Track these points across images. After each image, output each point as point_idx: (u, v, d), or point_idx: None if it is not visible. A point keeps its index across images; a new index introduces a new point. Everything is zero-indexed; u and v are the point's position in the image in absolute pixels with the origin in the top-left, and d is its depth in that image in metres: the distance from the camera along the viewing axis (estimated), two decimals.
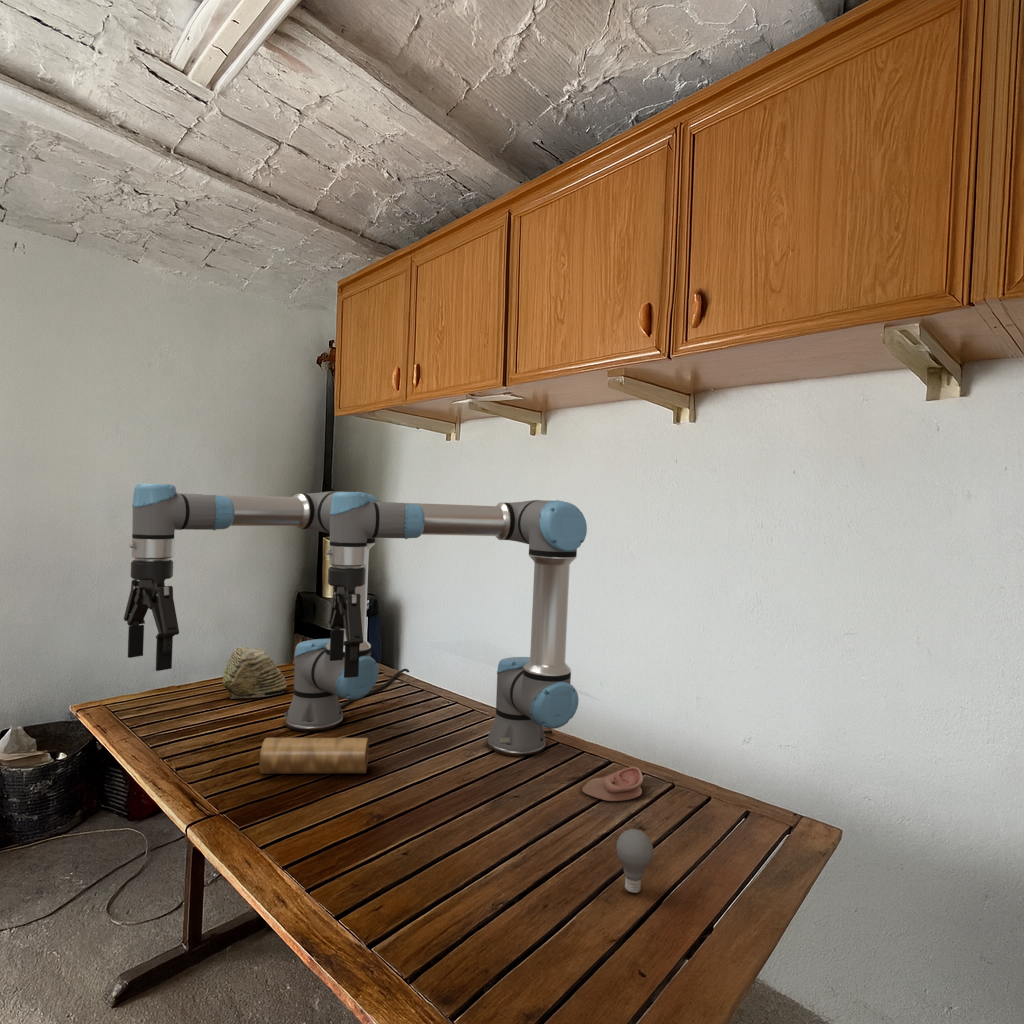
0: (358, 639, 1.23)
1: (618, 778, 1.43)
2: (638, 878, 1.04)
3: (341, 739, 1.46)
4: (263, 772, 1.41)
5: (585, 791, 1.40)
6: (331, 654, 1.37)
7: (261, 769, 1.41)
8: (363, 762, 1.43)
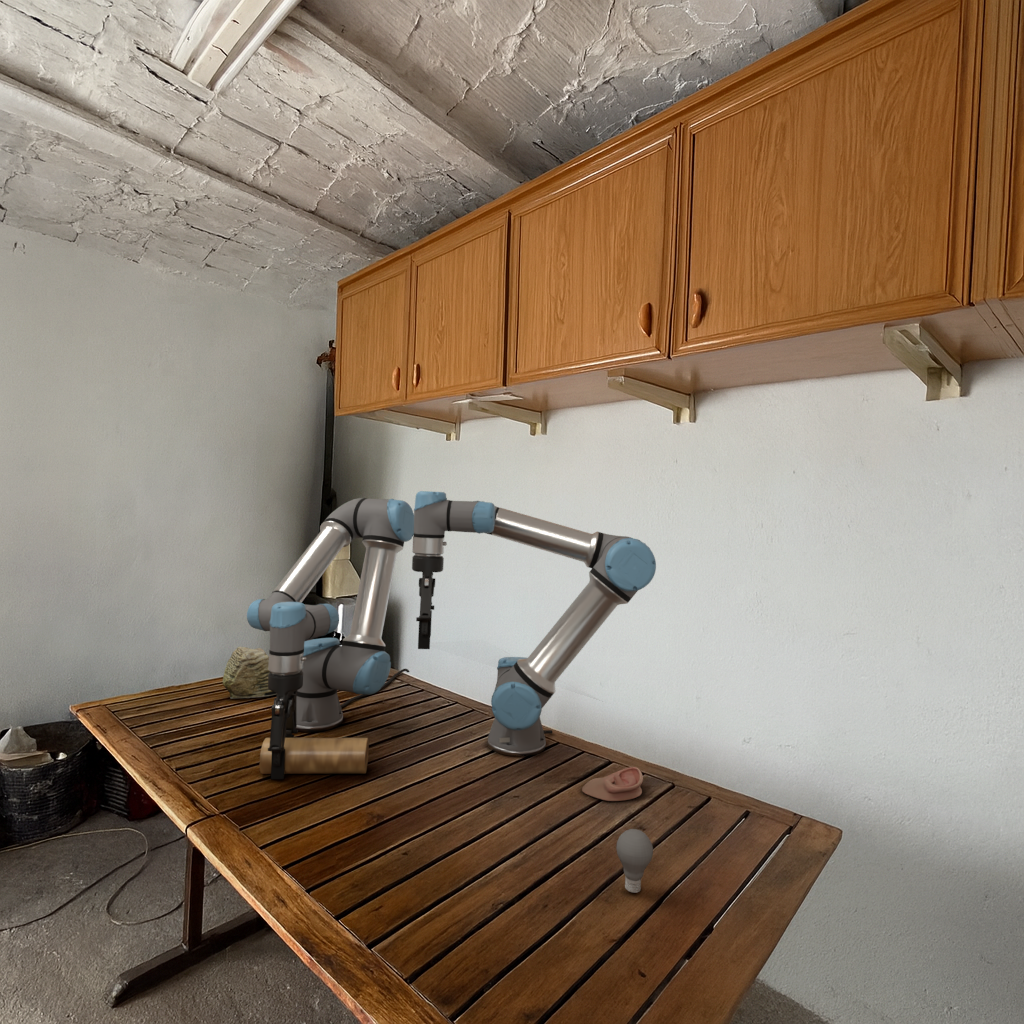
0: None
1: (618, 778, 1.43)
2: (638, 878, 1.04)
3: (341, 739, 1.46)
4: (263, 772, 1.41)
5: (585, 791, 1.40)
6: None
7: (261, 769, 1.41)
8: (363, 762, 1.43)
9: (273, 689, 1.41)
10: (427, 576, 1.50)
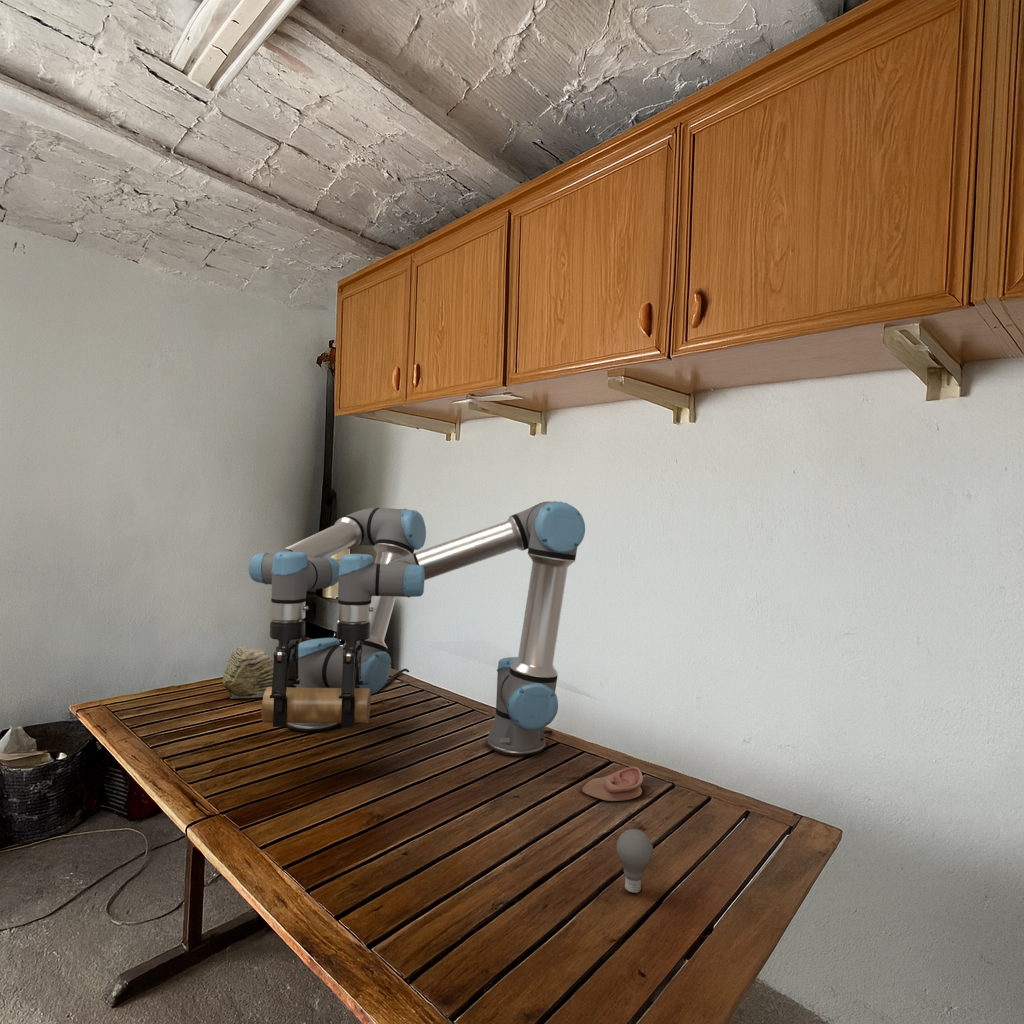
0: None
1: (618, 778, 1.43)
2: (638, 878, 1.04)
3: None
4: (265, 720, 1.41)
5: (585, 791, 1.40)
6: None
7: (263, 717, 1.41)
8: (365, 711, 1.43)
9: (275, 637, 1.41)
10: (351, 645, 1.42)
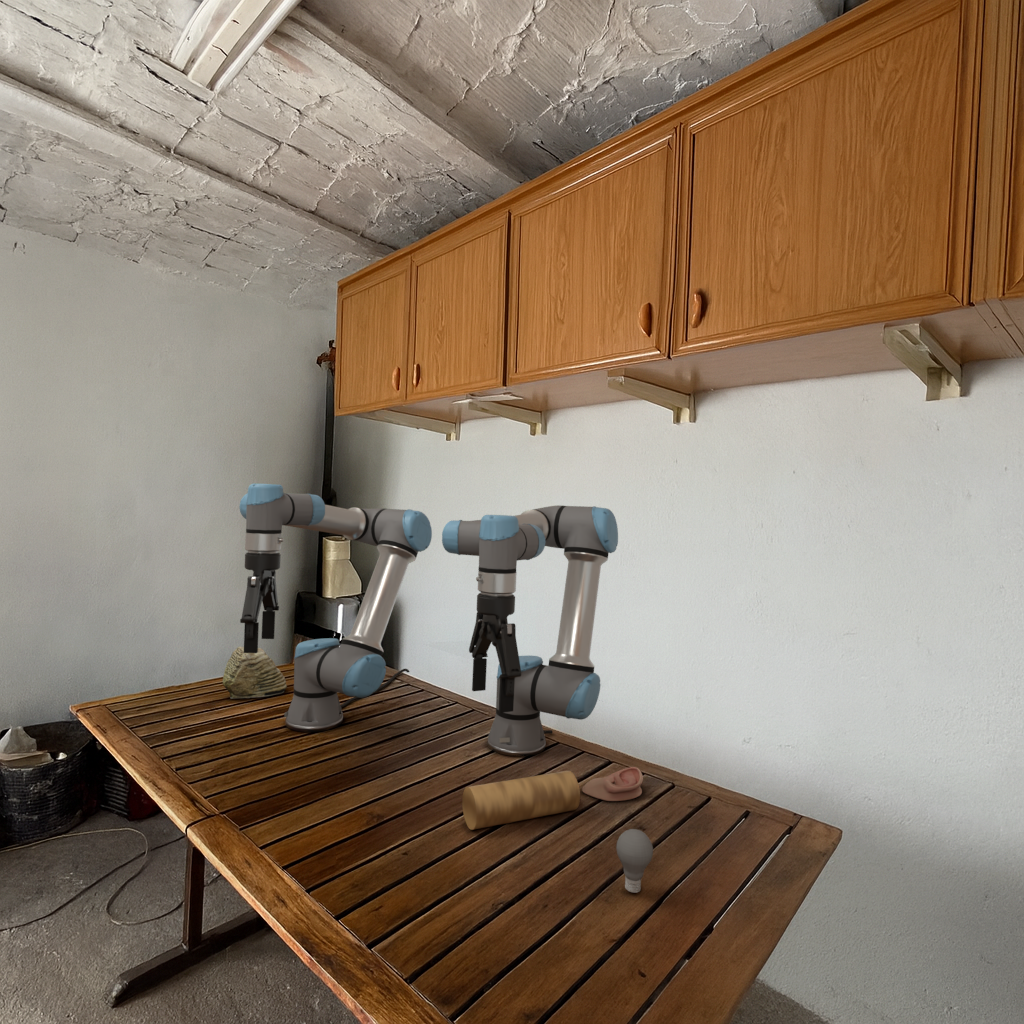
0: (516, 672, 1.16)
1: (618, 778, 1.43)
2: (638, 878, 1.04)
3: (497, 784, 1.26)
4: None
5: (585, 791, 1.40)
6: (474, 684, 1.30)
7: None
8: None
9: (249, 567, 1.40)
10: None
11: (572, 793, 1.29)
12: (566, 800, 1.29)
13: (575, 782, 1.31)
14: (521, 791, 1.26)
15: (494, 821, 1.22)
